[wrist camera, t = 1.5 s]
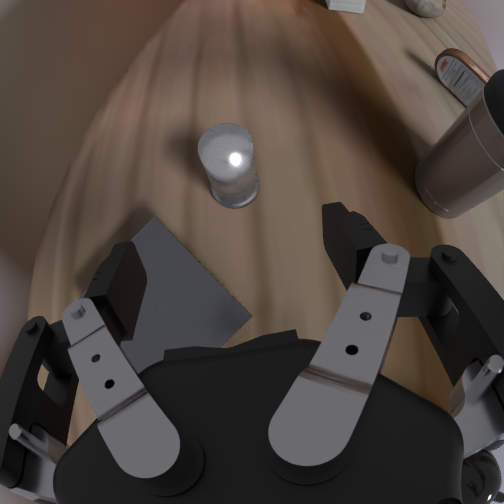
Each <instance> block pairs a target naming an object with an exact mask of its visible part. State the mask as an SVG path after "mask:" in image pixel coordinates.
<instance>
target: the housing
mask: <svg viewBox="0 0 504 504" xmlns="http://www.w3.org/2000/svg"><path fill="white" fill-rule="evenodd" d="M198 154H199V157H200V159H201V161H202V164H203V166H204V168H205V171H206V173H207V175H208V178H209V180H210V182H211V190H212V193H213V195H214V198H215V199H216V201H217V202H218V203H220V204H221V205H222V206H224V207H227V208H232V209H237V208H242V207H245V206H247V205H249V204H250V203H251V202H252V201H253V200H254V199H255V198H256V196H257V194H258V192H259V179H258V176H257V174H256V172H255V162H254V151H253V141H252V137H251V135H250V133H249V132H248V131H247V130H246V129H245V128H244V127H242V126H240V125H237V124H233V123H222V124H218V125H215V126H213V127H211V128H209V129H208V130H207V131H206V132H205V133H204V134H203V135H202V136H201V138H200V140H199V143H198Z"/></svg>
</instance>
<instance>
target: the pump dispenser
mask: <svg viewBox="0 0 504 504" xmlns="http://www.w3.org/2000/svg"><path fill="white" fill-rule="evenodd" d="M501 481H502V479H501V471H500V468H499V465H498V463H497V460H496V459H495V457H494V455H493V454H492V452H491V451H490V450H485V449H482V450H480V451H478V452H476V453H474V454H473V455H471V456H469V457H467V458H465V459H463V463H462V471H461V495H462V501H463V504H490V503H491V502H492V501H495V502H499V503H502V502H504V493H502V492H500V491H499V490H500V487H501Z"/></svg>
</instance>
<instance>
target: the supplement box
mask: <svg viewBox="0 0 504 504" xmlns="http://www.w3.org/2000/svg"><path fill="white" fill-rule="evenodd" d="M325 1H326V4H327V6H328V9H329V10H338V11H346V12H353V13H359V14H363V11H364V7H365V3H366V0H325Z"/></svg>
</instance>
